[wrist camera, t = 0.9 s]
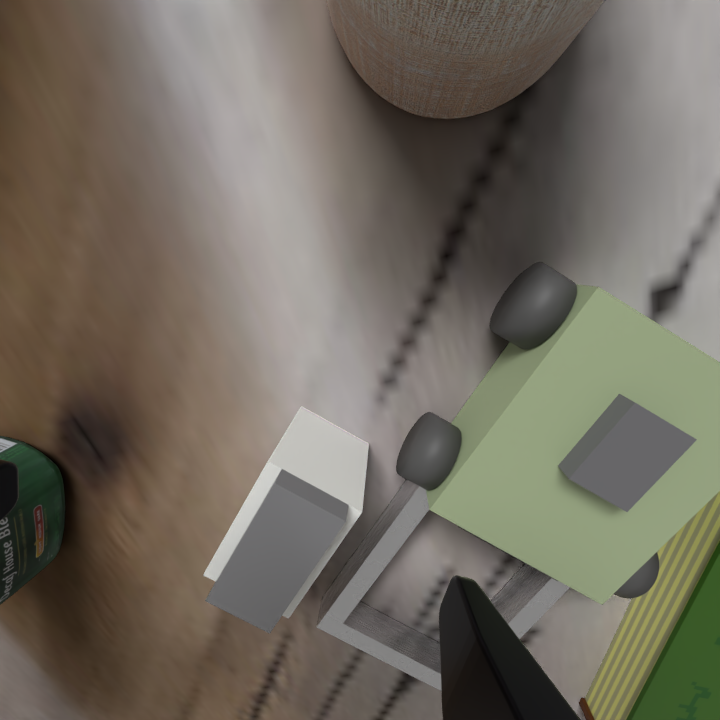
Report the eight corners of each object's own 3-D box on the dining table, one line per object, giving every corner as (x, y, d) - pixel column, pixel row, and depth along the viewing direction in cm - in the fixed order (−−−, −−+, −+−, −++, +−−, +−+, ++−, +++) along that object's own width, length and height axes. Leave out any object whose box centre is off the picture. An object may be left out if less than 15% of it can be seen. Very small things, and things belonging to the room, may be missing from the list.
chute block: (369, 443, 21) (360, 529, 14) (313, 528, 23) (282, 639, 16) (301, 405, 21) (259, 475, 14) (250, 494, 22) (191, 594, 16)
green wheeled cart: (741, 396, 19) (866, 442, 14) (582, 561, 22) (637, 645, 17) (525, 262, 18) (576, 261, 13) (393, 455, 21) (394, 513, 16)
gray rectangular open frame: (564, 547, 22) (581, 575, 20) (453, 666, 25) (459, 700, 23) (416, 465, 21) (419, 485, 19) (322, 598, 24) (316, 627, 22)
